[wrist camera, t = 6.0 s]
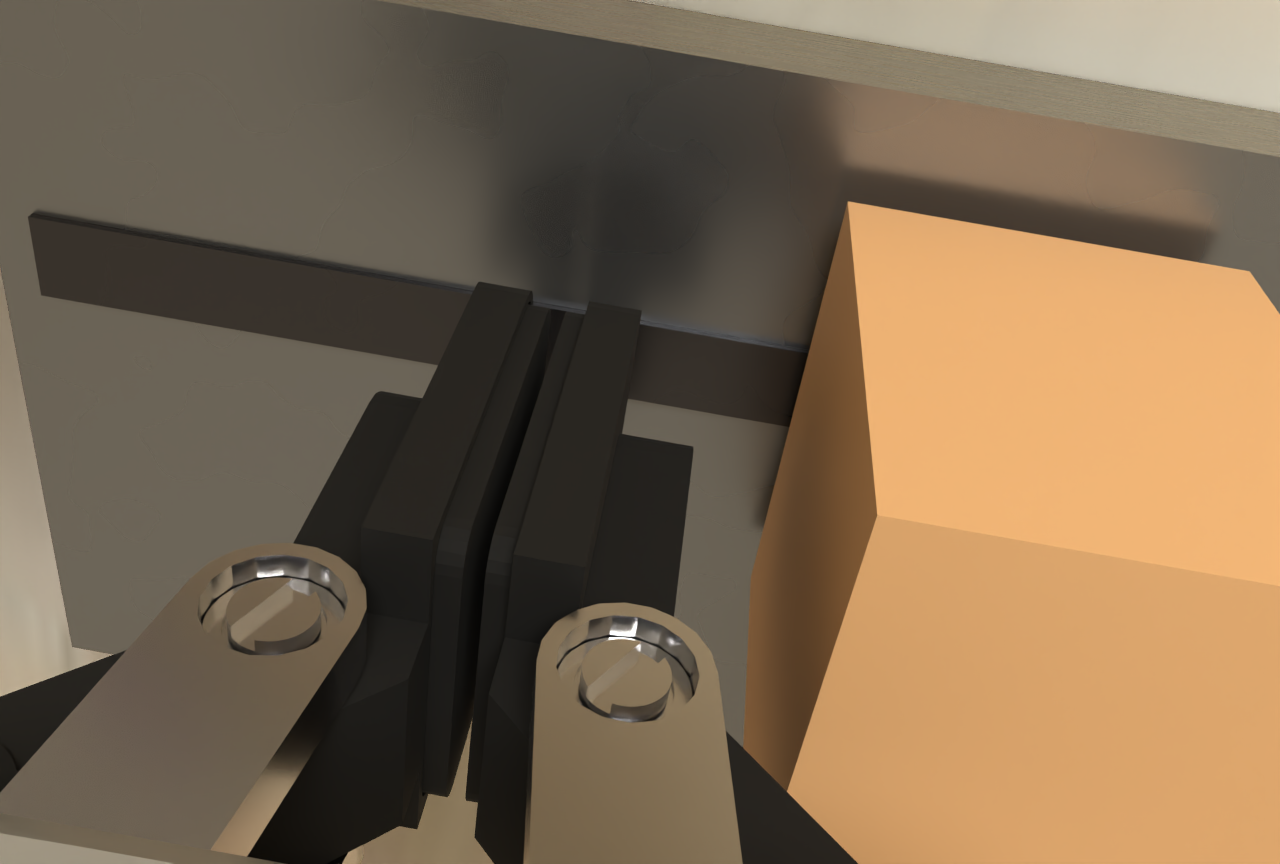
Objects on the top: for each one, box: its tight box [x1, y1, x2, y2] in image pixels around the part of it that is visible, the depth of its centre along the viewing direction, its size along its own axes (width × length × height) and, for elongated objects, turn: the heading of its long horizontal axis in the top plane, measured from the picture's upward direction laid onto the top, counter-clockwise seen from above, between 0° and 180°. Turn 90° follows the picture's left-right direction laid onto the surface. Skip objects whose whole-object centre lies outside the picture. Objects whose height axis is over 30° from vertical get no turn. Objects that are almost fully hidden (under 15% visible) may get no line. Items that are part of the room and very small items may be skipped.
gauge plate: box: [0, 0, 1280, 747], centre depth 13 cm, size 28×10×7 cm, turn 82°
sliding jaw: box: [743, 201, 1280, 864], centre depth 12 cm, size 4×8×5 cm, turn 172°
